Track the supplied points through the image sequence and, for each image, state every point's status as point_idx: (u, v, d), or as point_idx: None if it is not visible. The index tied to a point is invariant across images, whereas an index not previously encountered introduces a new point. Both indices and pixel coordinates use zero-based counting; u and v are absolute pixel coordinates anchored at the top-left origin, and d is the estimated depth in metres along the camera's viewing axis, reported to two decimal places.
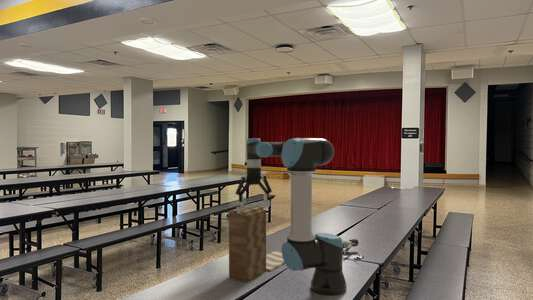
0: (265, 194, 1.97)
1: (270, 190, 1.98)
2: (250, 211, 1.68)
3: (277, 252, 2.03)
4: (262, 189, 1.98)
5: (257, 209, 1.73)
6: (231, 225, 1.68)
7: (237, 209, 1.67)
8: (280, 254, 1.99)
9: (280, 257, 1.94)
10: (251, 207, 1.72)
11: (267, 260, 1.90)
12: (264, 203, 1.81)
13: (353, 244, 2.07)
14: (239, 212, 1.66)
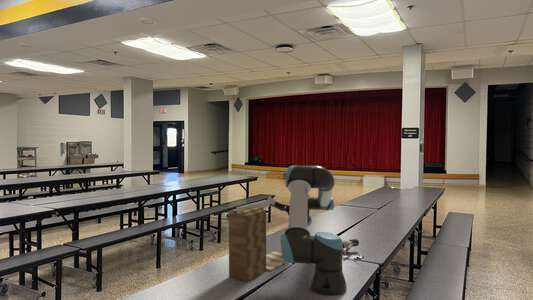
0: None
1: None
2: (250, 211, 1.68)
3: (277, 252, 2.03)
4: None
5: (257, 209, 1.73)
6: (231, 225, 1.68)
7: (237, 209, 1.67)
8: (280, 254, 1.99)
9: (280, 257, 1.94)
10: (251, 207, 1.72)
11: (267, 260, 1.90)
12: (264, 203, 1.81)
13: (353, 244, 2.07)
14: (239, 212, 1.66)
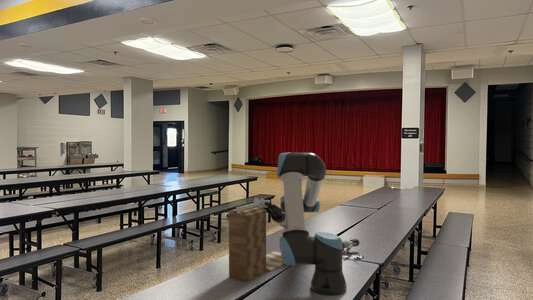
0: None
1: (274, 205, 1.83)
2: (250, 211, 1.68)
3: (277, 252, 2.03)
4: (269, 209, 1.85)
5: (257, 209, 1.73)
6: (231, 225, 1.68)
7: (237, 209, 1.67)
8: (280, 254, 1.99)
9: (280, 257, 1.94)
10: (251, 207, 1.72)
11: (267, 260, 1.90)
12: None
13: (354, 244, 2.07)
14: (239, 212, 1.66)
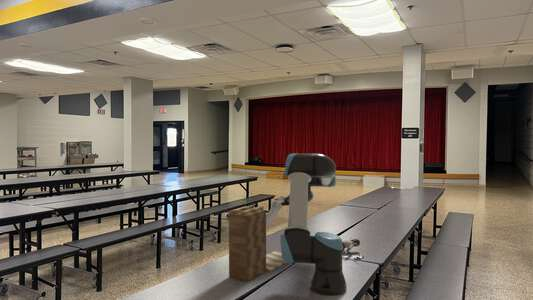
0: (283, 201, 1.96)
1: None
2: (250, 211, 1.68)
3: (277, 252, 2.03)
4: None
5: (257, 209, 1.73)
6: (231, 225, 1.68)
7: None
8: (280, 254, 1.99)
9: (280, 257, 1.94)
10: (271, 217, 1.87)
11: (267, 260, 1.90)
12: None
13: (354, 244, 2.07)
14: None
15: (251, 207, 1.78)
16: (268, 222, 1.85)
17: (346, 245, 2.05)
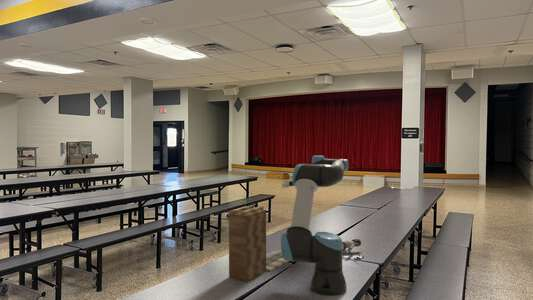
0: None
1: None
2: (250, 211, 1.68)
3: None
4: None
5: (257, 209, 1.73)
6: (231, 225, 1.68)
7: None
8: None
9: None
10: (274, 256, 1.89)
11: None
12: None
13: (355, 244, 2.07)
14: None
15: (251, 207, 1.78)
16: (270, 259, 1.87)
17: (347, 245, 2.05)
